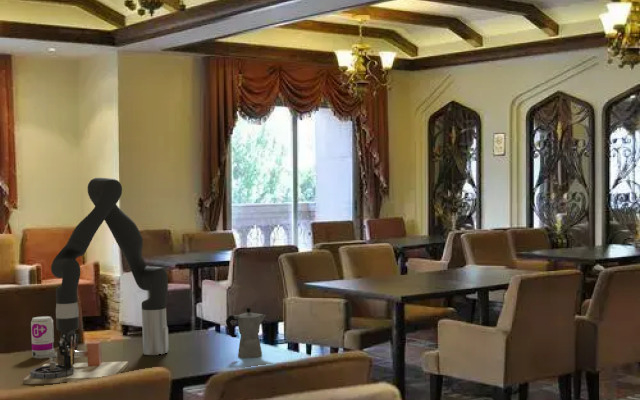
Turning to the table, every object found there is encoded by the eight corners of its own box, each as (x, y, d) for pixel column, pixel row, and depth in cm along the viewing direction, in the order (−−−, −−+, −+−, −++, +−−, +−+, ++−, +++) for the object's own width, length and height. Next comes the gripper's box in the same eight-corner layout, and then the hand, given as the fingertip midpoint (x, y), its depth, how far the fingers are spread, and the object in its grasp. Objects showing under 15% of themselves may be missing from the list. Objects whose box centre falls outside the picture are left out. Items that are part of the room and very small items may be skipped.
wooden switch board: (128, 365, 320) (127, 342, 320) (113, 381, 296) (112, 356, 296) (45, 368, 320) (44, 345, 320) (23, 384, 296) (22, 359, 296)
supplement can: (47, 359, 336) (46, 319, 336) (28, 358, 338) (26, 319, 337) (58, 354, 344) (56, 316, 343) (38, 354, 346) (37, 315, 345)
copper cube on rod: (101, 363, 318) (101, 341, 318) (99, 365, 314) (98, 343, 314) (51, 364, 318) (50, 342, 318) (48, 367, 314) (47, 344, 314)
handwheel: (63, 366, 312) (63, 345, 312) (81, 373, 302) (81, 351, 302) (24, 373, 303) (23, 351, 303) (41, 380, 292) (40, 357, 292)
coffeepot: (263, 351, 338) (261, 304, 338) (270, 356, 329) (269, 307, 329) (224, 355, 333) (222, 307, 332) (230, 360, 324) (228, 311, 324)
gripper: (70, 319, 298) (72, 370, 299) (85, 312, 312) (87, 361, 313) (48, 319, 299) (50, 370, 300) (64, 312, 313) (66, 361, 314)
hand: (69, 365), depth 306 cm, fingers closed on handwheel
